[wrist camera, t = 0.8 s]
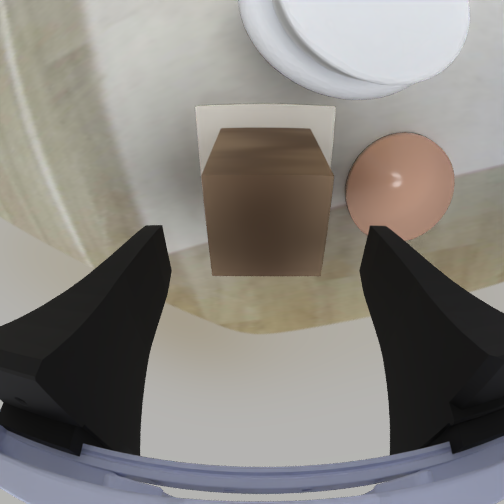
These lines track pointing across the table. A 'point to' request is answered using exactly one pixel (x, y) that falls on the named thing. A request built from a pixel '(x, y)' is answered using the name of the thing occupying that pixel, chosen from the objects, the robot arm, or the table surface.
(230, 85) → the table surface
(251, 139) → the walnut block
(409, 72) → the supplement bottle
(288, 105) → the letter tile
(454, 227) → the table surface
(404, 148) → the pink rounded smooth part
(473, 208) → the table surface
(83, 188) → the table surface
